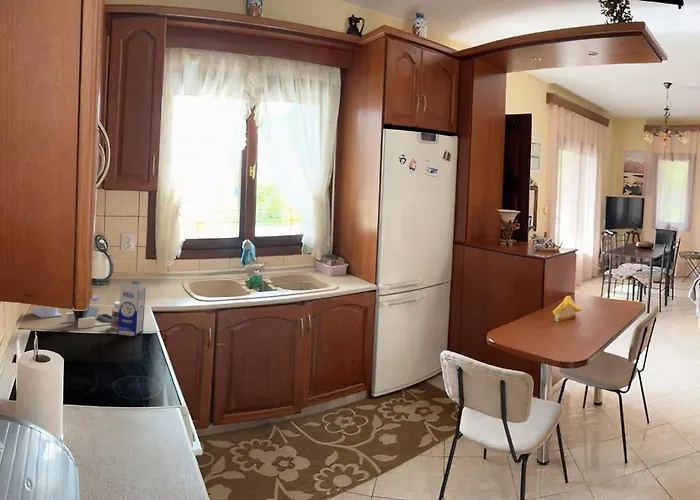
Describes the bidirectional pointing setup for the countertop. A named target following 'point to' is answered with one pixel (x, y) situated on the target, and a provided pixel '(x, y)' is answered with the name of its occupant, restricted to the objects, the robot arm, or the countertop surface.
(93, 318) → the channel
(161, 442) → the countertop surface
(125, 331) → the milk carton
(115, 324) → the pill bottle
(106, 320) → the pit tray
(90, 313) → the block
